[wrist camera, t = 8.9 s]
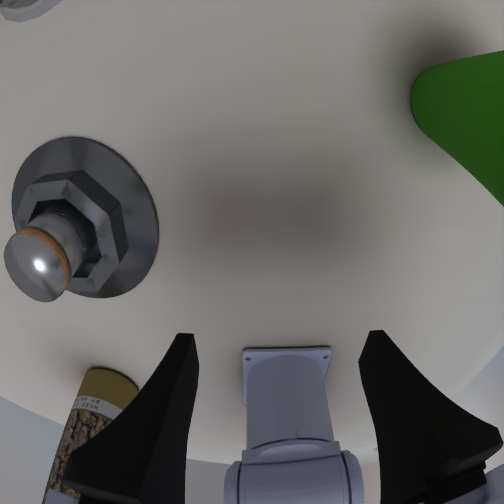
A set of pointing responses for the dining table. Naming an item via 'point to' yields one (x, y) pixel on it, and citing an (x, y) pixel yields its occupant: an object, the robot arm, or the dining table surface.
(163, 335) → the dining table surface
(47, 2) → the french press
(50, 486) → the paper tube
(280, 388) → the robot arm
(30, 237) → the silver metal canister
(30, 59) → the dining table surface
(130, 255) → the flange ring
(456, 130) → the cup
